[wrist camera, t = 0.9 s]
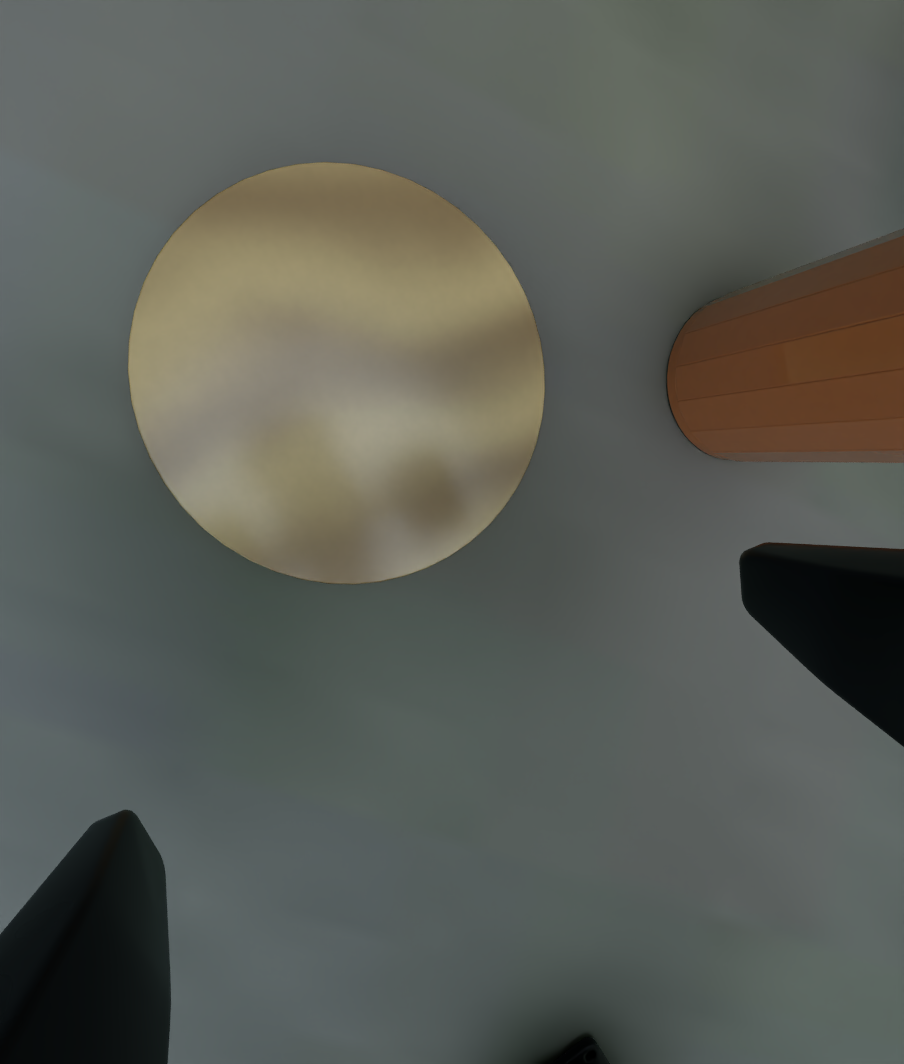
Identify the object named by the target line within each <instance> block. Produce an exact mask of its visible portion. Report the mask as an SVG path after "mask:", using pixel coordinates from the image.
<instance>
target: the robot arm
mask: <svg viewBox="0 0 904 1064" xmlns="http://www.w3.org/2000/svg"><path fill="white" fill-rule="evenodd" d="M739 565H740V579H741V594H742V601H743V604H744V606H745V608H746V610H747V611H748V613H749V614H750V615H751V616H752V617H753V618H754V619H755V620H756V621H757V622H758V623H759V624H760V625H762V626H763V627H764V628H765V629H766V630H767V631H768V632H769V633H770V634H771V635H772V636H773V637H774V638H775V639H776V640H777V641H778V642H780V643H781V644H782V645H783V646H784V647H785V648H786V649H787V650H788V651H789V652H790V653H791V654H792V655H793V656H794V657H795V658H796V659H798V660H799V661H800V662H801V663H802V664H803V665H804V666H805V667H806V668H807V669H808V670H809V671H810V672H811V673H812V674H814V675H815V676H816V677H817V678H818V679H819V680H820V681H821V682H822V683H824V684H825V685H826V686H827V687H828V688H830V689H831V690H832V691H833V692H835V693H836V694H837V695H838V696H840V697H841V698H842V699H843V700H845V701H846V702H847V703H848V704H850V705H851V706H852V707H854V708H855V709H856V710H857V711H859V712H860V713H861V714H862V715H864V716H865V717H866V718H868V719H869V720H870V721H871V722H873V723H874V724H875V725H877V726H878V727H879V728H880V729H882V730H883V731H884V732H885V733H887V734H888V735H889V736H891V737H892V738H893V739H894V740H896V741H897V742H898V743H899V744H901V745H902V746H903V747H904V549H889V548H869V547H850V546H830V545H810V544H791V543H771V542H768V543H762V544H760V545H758V546H755V547H753V548H751V549H748V550H746V551H744V552H743V553H742V554H741V557H740V560H739ZM170 1010H171V984H170V960H169V939H168V918H167V897H166V876H165V868H164V864H163V860H162V858H161V855H160V853H159V851H158V850H157V848H156V846H155V845H154V843H153V841H152V840H151V838H150V836H149V835H148V833H147V832H146V830H145V828H144V827H143V825H142V823H141V822H140V820H139V818H138V817H137V815H136V814H135V813H133V812H132V811H130V810H123V811H120V812H118V813H115V814H113V815H111V816H108V817H106V818H103V819H101V820H99V821H96V822H95V823H93V824H92V825H91V826H90V827H89V828H88V830H87V831H86V832H85V833H84V834H83V836H82V837H81V838H80V839H79V840H78V842H77V843H76V844H75V845H74V846H73V848H72V849H71V850H70V851H69V852H68V854H67V855H66V856H65V857H64V858H63V860H62V861H61V862H60V863H59V864H58V866H57V867H56V868H55V869H54V870H53V872H52V873H51V874H50V875H49V876H48V878H47V879H46V880H45V881H44V882H43V884H42V885H41V886H40V887H39V888H38V890H37V891H36V892H35V893H34V894H33V896H32V897H31V898H30V899H29V900H28V902H27V903H26V904H25V905H24V906H23V908H22V909H21V910H20V911H19V912H18V914H17V915H16V916H15V917H14V919H13V920H12V921H11V922H10V923H9V925H8V926H7V927H6V928H5V929H4V931H3V932H2V933H1V934H0V1064H167V1063H168V1047H169V1032H170ZM552 1064H610V1063H609V1061H608V1060H607V1058H606V1057H605V1055H604V1053H603V1052H602V1050H601V1049H600V1047H599V1045H598V1044H597V1042H596V1041H595V1039H593V1038H591V1037H587V1038H584V1039H582V1040H581V1041H579V1042H578V1043H577V1044H576V1045H574V1046H573V1047H572V1048H571V1049H569V1050H568V1051H567V1052H566V1053H564V1054H563V1055H562V1056H561V1057H559V1058H558V1059H557V1060H556V1061H554V1062H553V1063H552Z"/></svg>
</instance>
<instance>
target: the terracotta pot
mask: <svg viewBox="0 0 904 1064" xmlns="http://www.w3.org/2000/svg"><path fill="white" fill-rule="evenodd" d="M667 389H668V397H669V402H670V406H671V409H672V412H673V415H674V417H675V419H676V421H677V423H678V425H679V427H680V429H681V430H682V432H683V433H684V435H685V436H686V437H687V438H688V439H689V440H690V441H691V442H692V443H693V444H694V445H695V446H696V447H698V448H699V449H700V450H702V451H704V452H705V453H707V454H709V455H711V456H714V457H717V458H721V459H726V460H735V461H753V462H881V463H904V228H903V229H901V230H898V231H895V232H893V233H890V234H887V235H885V236H882V237H879V238H876V239H874V240H871V241H868V242H866V243H863V244H860V245H858V246H855V247H852V248H849V249H847V250H844V251H841V252H839V253H836V254H833V255H831V256H828V257H825V258H822V259H820V260H817V261H814V262H812V263H809V264H806V265H804V266H801V267H798V268H795V269H793V270H790V271H787V272H785V273H782V274H779V275H777V276H774V277H771V278H768V279H766V280H763V281H760V282H758V283H755V284H752V285H750V286H747V287H744V288H741V289H739V290H736V291H733V292H731V293H729V294H727V295H725V296H723V297H721V298H718V299H716V300H714V301H712V302H710V303H708V304H706V305H705V306H703V307H702V308H700V309H699V310H698V311H697V312H696V313H695V314H693V315H692V316H691V318H690V319H689V320H688V321H687V322H686V323H685V325H684V327H683V328H682V330H681V331H680V333H679V335H678V337H677V339H676V341H675V343H674V346H673V348H672V351H671V355H670V359H669V363H668V372H667Z"/></svg>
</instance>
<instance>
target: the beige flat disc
mask: <svg viewBox="0 0 904 1064" xmlns="http://www.w3.org/2000/svg"><path fill="white" fill-rule="evenodd" d="M128 375H129V384H130V394H131V402H132V405H133V409H134V413H135V417H136V421H137V425H138V429H139V432H140V434H141V437H142V439H143V442H144V444H145V447H146V449H147V452H148V454H149V457H150V459H151V461H152V462H153V464H154V466H155V468H156V469H157V471H158V473H159V475H160V476H161V478H162V480H163V482H164V484H165V485H166V486H167V488H168V489H169V490H170V492H171V493H172V494H173V496H174V497H175V498H176V499H177V501H178V502H179V503H180V505H181V506H182V507H183V508H184V509H185V510H186V511H187V513H188V514H189V515H190V516H191V517H192V518H193V519H194V520H195V521H196V522H197V523H198V524H199V525H200V526H201V527H202V528H203V529H205V530H206V531H207V532H208V533H210V534H211V535H212V536H213V537H215V538H216V539H217V540H219V541H220V542H221V543H222V544H224V545H225V546H226V547H228V548H230V549H231V550H233V551H235V552H236V553H238V554H240V555H241V556H243V557H245V558H246V559H248V560H250V561H252V562H254V563H257V564H259V565H261V566H264V567H266V568H268V569H270V570H273V571H275V572H278V573H282V574H285V575H288V576H292V577H295V578H299V579H303V580H309V581H315V582H321V583H328V584H363V583H373V582H381V581H386V580H390V579H394V578H399V577H403V576H406V575H409V574H412V573H415V572H417V571H420V570H423V569H425V568H428V567H430V566H432V565H434V564H436V563H438V562H440V561H442V560H444V559H445V558H447V557H449V556H451V555H452V554H454V553H455V552H457V551H458V550H460V549H461V548H462V547H464V546H465V545H467V544H468V543H470V542H471V541H472V540H473V539H474V538H475V537H476V536H478V535H479V534H480V533H481V532H482V531H483V530H484V529H485V528H486V527H487V526H489V524H490V523H491V522H492V521H493V520H494V519H495V517H496V516H497V515H498V514H499V513H500V512H501V510H502V509H503V508H504V507H505V505H506V504H507V502H508V501H509V499H510V498H511V496H512V495H513V493H514V492H515V490H516V489H517V487H518V486H519V483H520V481H521V479H522V477H523V475H524V473H525V471H526V469H527V467H528V465H529V463H530V460H531V457H532V454H533V451H534V448H535V446H536V443H537V439H538V434H539V430H540V425H541V421H542V415H543V405H544V394H545V383H544V362H543V355H542V348H541V341H540V337H539V334H538V330H537V326H536V322H535V319H534V315H533V313H532V310H531V308H530V305H529V303H528V300H527V298H526V295H525V293H524V290H523V289H522V287H521V285H520V283H519V281H518V279H517V277H516V276H515V274H514V272H513V270H512V268H511V267H510V265H509V264H508V262H507V261H506V260H505V258H504V257H503V255H502V254H501V253H500V251H499V250H498V248H497V247H496V246H495V244H494V243H493V242H492V241H491V240H490V239H489V238H488V237H487V236H486V234H485V233H484V232H483V231H482V230H481V229H480V228H479V227H478V226H477V225H476V224H475V223H474V222H473V221H472V220H470V219H469V218H468V217H467V216H466V215H465V214H464V213H462V212H461V211H460V210H459V209H458V208H457V207H455V206H454V205H452V204H451V203H449V202H448V201H446V200H445V199H443V198H442V197H440V196H439V195H437V194H436V193H434V192H433V191H431V190H429V189H427V188H425V187H423V186H421V185H419V184H417V183H415V182H413V181H411V180H409V179H406V178H403V177H401V176H398V175H395V174H392V173H389V172H386V171H384V170H380V169H375V168H370V167H365V166H361V165H356V164H345V163H331V162H321V163H306V164H295V165H291V166H286V167H281V168H277V169H272V170H268V171H265V172H263V173H260V174H257V175H255V176H252V177H249V178H246V179H244V180H242V181H240V182H238V183H236V184H234V185H232V186H231V187H229V188H227V189H225V190H223V191H222V192H220V193H218V194H216V195H215V196H214V197H212V198H211V199H210V200H209V201H207V202H206V203H205V204H203V205H202V206H201V207H199V208H198V209H197V210H195V211H194V212H193V213H192V214H191V215H190V216H189V217H188V218H187V219H186V220H185V221H184V222H183V224H182V225H181V226H180V227H179V228H178V229H177V230H176V231H175V232H174V233H173V234H172V236H171V237H170V239H169V240H168V241H167V243H166V244H165V246H164V247H163V248H162V250H161V251H160V253H159V254H158V255H157V257H156V259H155V261H154V263H153V265H152V267H151V269H150V271H149V273H148V275H147V277H146V279H145V281H144V283H143V286H142V289H141V292H140V295H139V298H138V301H137V304H136V307H135V310H134V314H133V320H132V326H131V332H130V337H129V354H128Z"/></svg>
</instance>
